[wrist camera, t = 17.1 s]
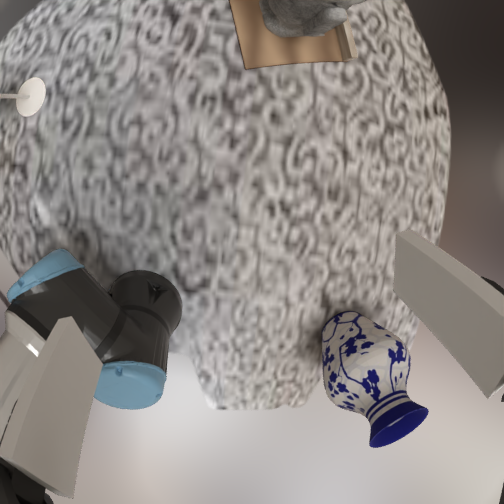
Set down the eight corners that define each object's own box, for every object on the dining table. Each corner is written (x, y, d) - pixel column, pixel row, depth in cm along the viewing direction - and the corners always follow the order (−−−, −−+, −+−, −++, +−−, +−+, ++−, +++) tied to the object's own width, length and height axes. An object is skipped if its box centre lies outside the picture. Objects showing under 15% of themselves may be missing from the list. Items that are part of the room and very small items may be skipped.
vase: (376, 284, 60) (455, 377, 33) (376, 340, 69) (432, 425, 42) (298, 313, 60) (350, 432, 33) (311, 366, 68) (350, 465, 42)
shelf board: (245, 69, 39) (248, 64, 35) (222, -25, 30) (224, -36, 26) (347, 61, 39) (359, 57, 36) (322, -28, 31) (331, -37, 27)
